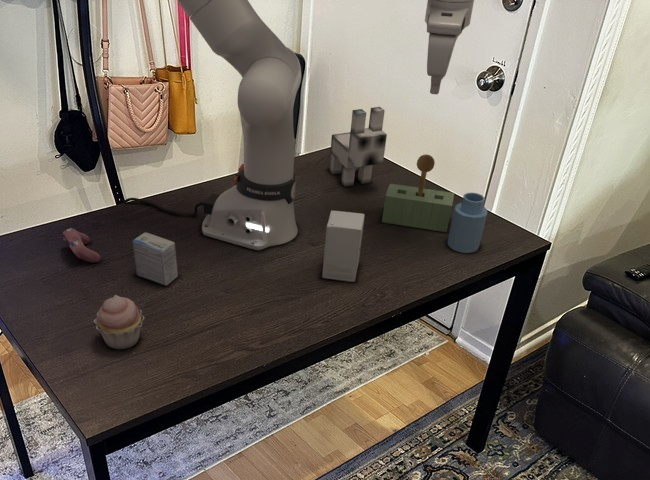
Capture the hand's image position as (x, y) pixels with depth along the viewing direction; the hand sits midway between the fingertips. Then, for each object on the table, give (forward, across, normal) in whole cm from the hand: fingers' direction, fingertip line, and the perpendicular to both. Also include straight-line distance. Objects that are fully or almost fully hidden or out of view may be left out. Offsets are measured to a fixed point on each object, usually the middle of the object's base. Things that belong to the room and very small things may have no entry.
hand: (436, 85), depth 147 cm
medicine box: (+33, +39, -50) cm, 71 cm away
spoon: (+33, -3, 0) cm, 33 cm away
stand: (+33, -3, 0) cm, 33 cm away
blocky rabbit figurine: (+33, -21, -19) cm, 44 cm away
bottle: (+33, +4, +12) cm, 36 cm away
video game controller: (+33, +36, -69) cm, 84 cm away
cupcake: (+33, +61, -48) cm, 84 cm away
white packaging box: (+33, +25, -13) cm, 43 cm away
